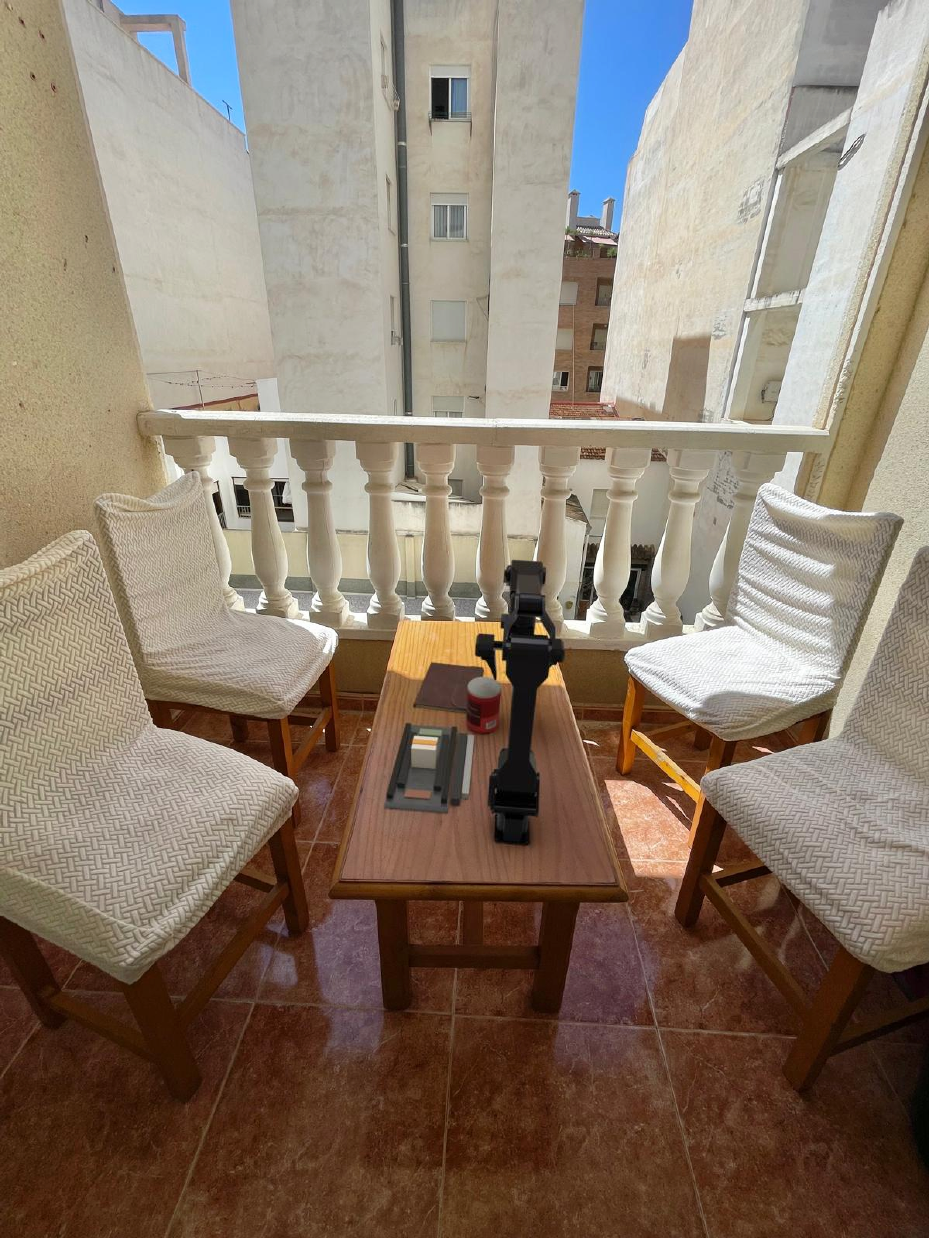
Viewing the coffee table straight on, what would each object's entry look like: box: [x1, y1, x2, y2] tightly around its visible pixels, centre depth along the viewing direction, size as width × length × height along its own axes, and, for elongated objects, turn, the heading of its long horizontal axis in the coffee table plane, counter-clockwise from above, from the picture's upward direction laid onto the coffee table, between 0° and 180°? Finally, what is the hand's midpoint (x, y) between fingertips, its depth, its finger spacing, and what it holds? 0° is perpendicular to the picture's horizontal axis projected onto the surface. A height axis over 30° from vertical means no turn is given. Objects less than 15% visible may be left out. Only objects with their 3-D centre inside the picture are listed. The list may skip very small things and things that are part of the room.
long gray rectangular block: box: [449, 732, 475, 807], centre depth 117 cm, size 20×3×2 cm, turn 176°
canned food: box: [465, 676, 502, 735], centre depth 129 cm, size 8×8×11 cm
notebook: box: [412, 661, 485, 715], centre depth 144 cm, size 15×20×2 cm
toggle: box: [411, 736, 438, 769], centre depth 115 cm, size 4×5×5 cm
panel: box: [384, 722, 459, 814], centre depth 117 cm, size 24×12×3 cm, turn 176°
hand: (516, 680), depth 122 cm, fingers open, 9 cm apart
